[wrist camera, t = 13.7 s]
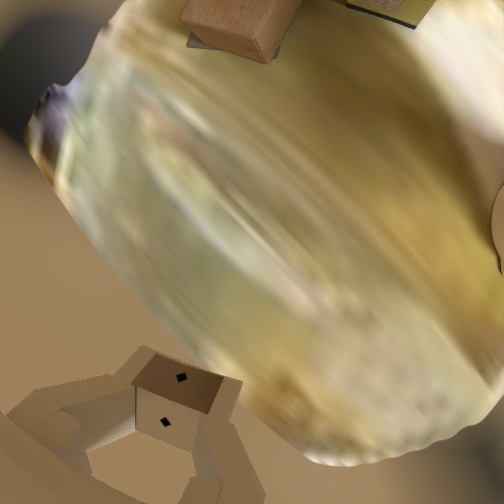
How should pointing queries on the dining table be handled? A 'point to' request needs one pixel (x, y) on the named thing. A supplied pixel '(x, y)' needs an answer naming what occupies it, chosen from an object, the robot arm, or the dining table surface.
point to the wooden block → (241, 24)
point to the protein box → (395, 10)
